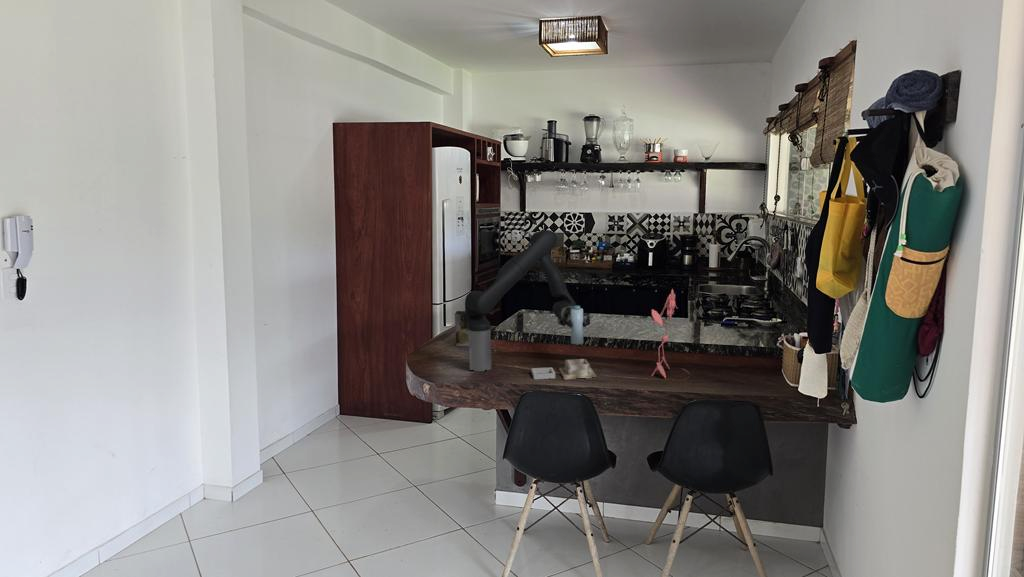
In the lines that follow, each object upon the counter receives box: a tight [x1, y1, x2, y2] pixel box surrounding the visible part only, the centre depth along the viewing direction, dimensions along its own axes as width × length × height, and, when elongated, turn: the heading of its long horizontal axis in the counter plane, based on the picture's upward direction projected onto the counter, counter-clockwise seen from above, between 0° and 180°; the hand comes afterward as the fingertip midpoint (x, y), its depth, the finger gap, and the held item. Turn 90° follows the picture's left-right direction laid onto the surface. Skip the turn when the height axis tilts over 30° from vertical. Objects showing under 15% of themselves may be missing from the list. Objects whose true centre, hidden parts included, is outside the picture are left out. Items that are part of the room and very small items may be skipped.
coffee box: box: [454, 310, 469, 347], centre depth 341 cm, size 9×6×16 cm
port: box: [558, 358, 597, 380], centre depth 290 cm, size 13×13×5 cm
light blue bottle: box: [570, 305, 584, 345], centre depth 287 cm, size 5×5×15 cm
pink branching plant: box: [646, 288, 690, 381], centre depth 284 cm, size 15×26×35 cm, turn 157°
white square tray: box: [531, 367, 556, 380], centre depth 289 cm, size 9×9×2 cm
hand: (578, 324), depth 285 cm, fingers closed on light blue bottle, 5 cm apart
